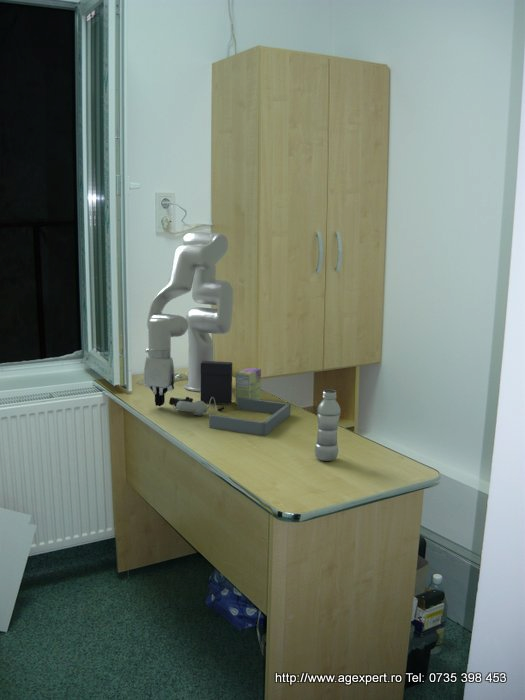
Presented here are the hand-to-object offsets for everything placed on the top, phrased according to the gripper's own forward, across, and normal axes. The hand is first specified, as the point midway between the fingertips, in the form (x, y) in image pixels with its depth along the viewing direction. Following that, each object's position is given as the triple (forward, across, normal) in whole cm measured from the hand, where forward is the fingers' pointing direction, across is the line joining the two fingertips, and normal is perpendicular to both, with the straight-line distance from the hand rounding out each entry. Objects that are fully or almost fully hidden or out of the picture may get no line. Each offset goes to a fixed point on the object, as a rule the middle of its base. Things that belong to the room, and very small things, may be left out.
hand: (159, 404), depth 236 cm
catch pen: (+1, +34, 0) cm, 34 cm away
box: (+1, +25, +21) cm, 33 cm away
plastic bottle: (+1, +67, -24) cm, 71 cm away
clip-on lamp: (+2, +14, +2) cm, 14 cm away
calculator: (+1, +15, +15) cm, 21 cm away
